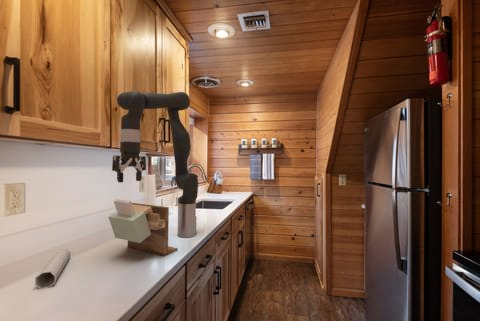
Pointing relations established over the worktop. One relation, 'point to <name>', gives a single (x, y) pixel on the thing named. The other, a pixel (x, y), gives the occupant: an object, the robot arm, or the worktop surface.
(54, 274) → the tube
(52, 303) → the worktop surface
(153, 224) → the wall board
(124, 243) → the worktop surface
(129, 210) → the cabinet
